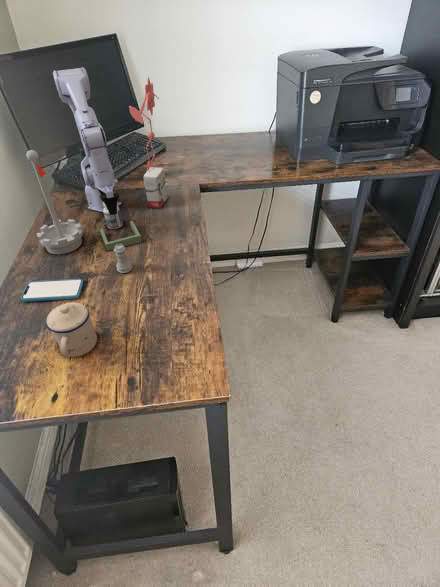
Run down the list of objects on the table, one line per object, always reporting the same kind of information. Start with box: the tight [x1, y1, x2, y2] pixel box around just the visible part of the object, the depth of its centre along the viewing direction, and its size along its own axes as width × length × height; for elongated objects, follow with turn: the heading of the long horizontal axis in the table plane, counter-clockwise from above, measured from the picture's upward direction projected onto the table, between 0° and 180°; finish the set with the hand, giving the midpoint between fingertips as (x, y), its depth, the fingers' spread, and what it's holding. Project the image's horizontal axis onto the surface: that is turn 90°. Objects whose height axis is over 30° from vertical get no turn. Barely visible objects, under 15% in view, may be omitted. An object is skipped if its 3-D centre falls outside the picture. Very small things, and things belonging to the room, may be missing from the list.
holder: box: [99, 220, 143, 252], centre depth 123 cm, size 10×11×2 cm
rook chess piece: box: [113, 244, 133, 274], centre depth 108 cm, size 4×4×8 cm
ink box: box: [143, 166, 168, 209], centre depth 137 cm, size 9×5×12 cm, turn 168°
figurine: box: [128, 76, 182, 183], centre depth 150 cm, size 15×26×35 cm, turn 177°
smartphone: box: [20, 278, 84, 303], centre depth 104 cm, size 8×1×15 cm
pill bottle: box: [102, 202, 124, 230], centre depth 127 cm, size 5×5×9 cm
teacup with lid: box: [46, 301, 98, 358], centre depth 85 cm, size 12×9×12 cm
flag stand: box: [25, 149, 84, 255], centre depth 112 cm, size 13×13×30 cm
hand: (111, 209), depth 126 cm, fingers open, 7 cm apart
